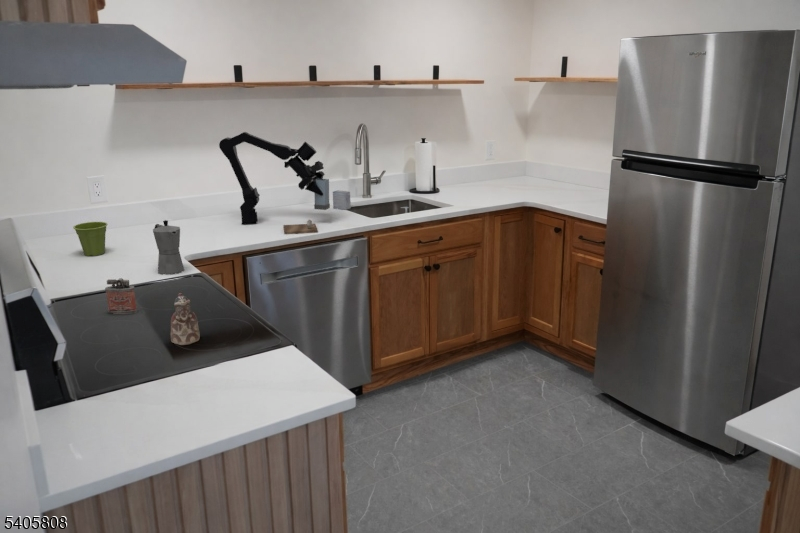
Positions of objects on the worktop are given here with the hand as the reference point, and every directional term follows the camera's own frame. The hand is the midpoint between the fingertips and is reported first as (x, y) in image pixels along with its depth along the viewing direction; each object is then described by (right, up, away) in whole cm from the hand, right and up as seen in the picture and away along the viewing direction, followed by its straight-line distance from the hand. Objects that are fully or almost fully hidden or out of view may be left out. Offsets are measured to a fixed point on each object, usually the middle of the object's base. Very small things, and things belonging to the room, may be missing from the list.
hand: (324, 193), depth 293 cm
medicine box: (+5, -4, +35) cm, 35 cm away
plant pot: (-83, -28, -42) cm, 97 cm away
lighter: (-47, -46, -103) cm, 122 cm away
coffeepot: (-47, -34, -64) cm, 86 cm away
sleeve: (-1, -6, +2) cm, 7 cm away
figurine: (-22, -52, -123) cm, 135 cm away
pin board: (-10, -17, -8) cm, 21 cm away
